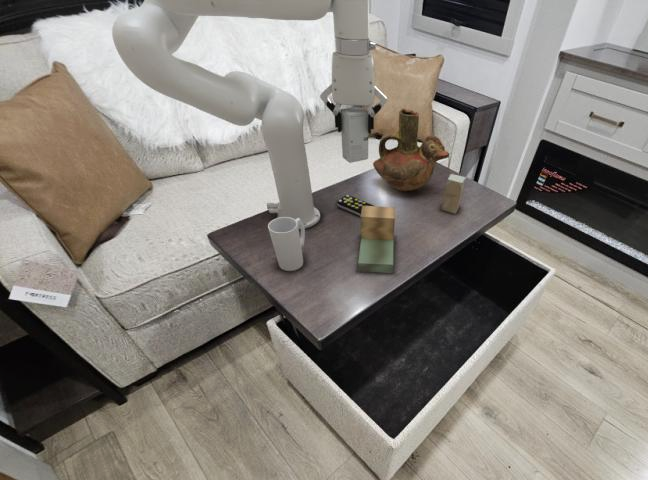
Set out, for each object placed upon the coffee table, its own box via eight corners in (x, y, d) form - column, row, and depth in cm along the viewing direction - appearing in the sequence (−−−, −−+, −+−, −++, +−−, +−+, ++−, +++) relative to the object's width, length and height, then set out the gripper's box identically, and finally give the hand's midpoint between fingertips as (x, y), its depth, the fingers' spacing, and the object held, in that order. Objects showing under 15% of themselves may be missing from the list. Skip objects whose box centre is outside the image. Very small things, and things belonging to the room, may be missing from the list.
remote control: (366, 219, 105) (366, 214, 103) (335, 206, 109) (334, 200, 107) (378, 211, 108) (378, 206, 107) (347, 198, 113) (347, 193, 111)
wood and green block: (358, 271, 88) (357, 240, 80) (362, 235, 99) (362, 205, 92) (392, 273, 88) (394, 242, 81) (393, 237, 99) (395, 207, 92)
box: (441, 210, 111) (446, 178, 103) (444, 204, 114) (450, 172, 106) (456, 214, 110) (462, 182, 102) (459, 208, 113) (466, 176, 105)
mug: (292, 275, 85) (283, 236, 76) (272, 266, 87) (261, 226, 78) (317, 254, 91) (312, 216, 83) (298, 246, 93) (290, 208, 85)
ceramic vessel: (439, 205, 113) (452, 127, 95) (365, 192, 116) (365, 114, 98) (446, 182, 125) (458, 109, 107) (379, 171, 128) (380, 97, 110)
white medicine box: (350, 163, 90) (348, 114, 81) (341, 157, 92) (338, 108, 83) (369, 159, 93) (369, 111, 84) (360, 153, 95) (360, 105, 86)
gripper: (390, 46, 78) (387, 127, 91) (314, 41, 76) (322, 124, 89) (391, 53, 73) (388, 138, 85) (310, 47, 71) (319, 135, 84)
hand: (354, 130), depth 87 cm, fingers closed on white medicine box, 7 cm apart
